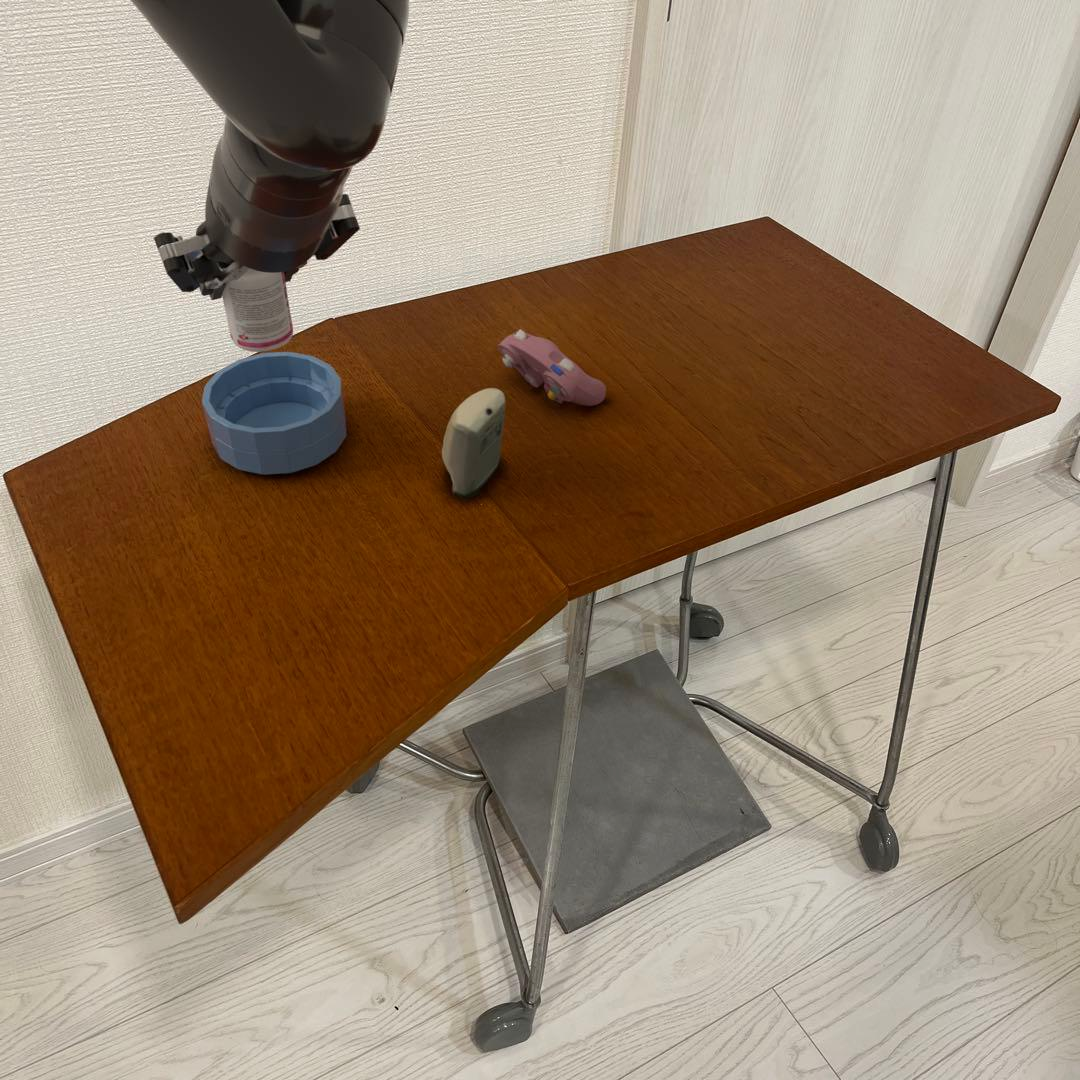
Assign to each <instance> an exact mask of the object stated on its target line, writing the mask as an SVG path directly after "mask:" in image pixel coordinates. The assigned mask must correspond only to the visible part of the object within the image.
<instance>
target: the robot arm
mask: <svg viewBox="0 0 1080 1080" xmlns="http://www.w3.org/2000/svg"><path fill="white" fill-rule="evenodd" d="M129 1H130V2H131V3H132V4H133V5H134V7H135V8H136V9H137V10H138V11H139V13H140V14H141V15H142V16H143V17H144V18H145V20H146V21H147V22H148V24H149V25H150V26H151V27H152V29H153V30H154V31H155V32H156V34H157V35H158V36H159V38H160V39H161V40H162V41H163V42H164V43H165V45H166V46H167V47H168V48H169V49H170V50H171V52H172V53H173V54H174V55H175V56H176V57H177V59H178V60H179V61H180V62H181V63H182V64H183V67H185V69H187V71H188V72H189V73H190V74H191V76H192V77H193V78H194V79H195V80H196V82H197V83H198V84H199V86H200V87H201V88H202V89H203V91H204V92H205V93H206V94H207V95H208V96H209V98H210V99H211V100H212V102H213V103H214V104H215V105H216V106H217V108H219V110H220V111H221V112H222V113H223V114H224V115H225V118H224V125H223V130H222V134H221V135H220V138H219V140H218V141H217V144H216V147H215V150H214V154H213V159H212V164H211V168H210V175H209V180H208V181H209V182H208V186H207V194H206V198H205V206H204V207H205V208H204V215H205V216H204V217H205V219H204V221H203V222H201V224H199V225H198V227H197V228H196V230H195V236H190V237H188V238H185V239H184V237H183V236H182V235H177V236H175V235H174V234H173V233H172V232H168V231H167V232H160V233H158V234H156V235H155V236H154V237H153V240H154V242H155V245H156V247H157V251H158V254H159V256H160V259H161V262H162V264H163V267H164V269H165V272H166V275H167V276H168V278H170V279H171V280H172V282H173V283H174V284H175V285H176V287H178V289H179V290H180V291H181V292H182V293H193V292H195V291H196V290H198V289H199V291H200V294H201V296H203V297H206V296H209V298H210V300H211V301H215V300H220V299H222V298H223V297H222V293H223V290H224V287H225V282H226V281H233V280H238V279H239V278H240V277H241V276H242V275H243V274H244V273H246V272H247V271H248V270H249V269H253V270H256V271H261V272H267V273H278V272H284V276H285V282H286V283H288V282H291V281H292V279H293V276H294V275H296V274H297V273H299V271H300V269H302V268H304V267H305V266H306V265H308V261H310V259H311V258H312V257H314V256H315V259H316V260H317V261H326V260H328V259H329V258H330V257H332V256H333V255H334V254H335V253H336V252H337V251H338V250H340V248H342V246H343V245H345V244H346V242H348V241H349V240H350V239H352V237H353V236H355V234H356V233H357V232H359V231H360V229H361V228H360V224H359V222H358V221H359V220H358V218H357V216H356V213H355V210H354V208H353V206H352V202H351V199H350V196H349V194H347V193H344V189H345V186H346V185H345V184H346V182H347V181H348V179H349V177H350V175H351V173H352V170H353V168H354V167H355V166H356V165H357V164H359V163H361V162H363V161H364V160H365V159H367V158H368V157H369V156H370V154H372V152H373V151H374V149H375V148H376V146H377V145H378V143H379V140H380V138H381V136H382V133H383V130H384V127H385V123H386V119H387V116H388V111H389V107H390V102H391V97H392V95H393V94H392V93H393V89H394V86H395V85H394V84H395V80H396V76H397V72H398V67H399V63H400V59H401V55H402V51H403V46H404V42H405V37H406V33H407V29H408V24H409V18H410V0H129Z"/></svg>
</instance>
